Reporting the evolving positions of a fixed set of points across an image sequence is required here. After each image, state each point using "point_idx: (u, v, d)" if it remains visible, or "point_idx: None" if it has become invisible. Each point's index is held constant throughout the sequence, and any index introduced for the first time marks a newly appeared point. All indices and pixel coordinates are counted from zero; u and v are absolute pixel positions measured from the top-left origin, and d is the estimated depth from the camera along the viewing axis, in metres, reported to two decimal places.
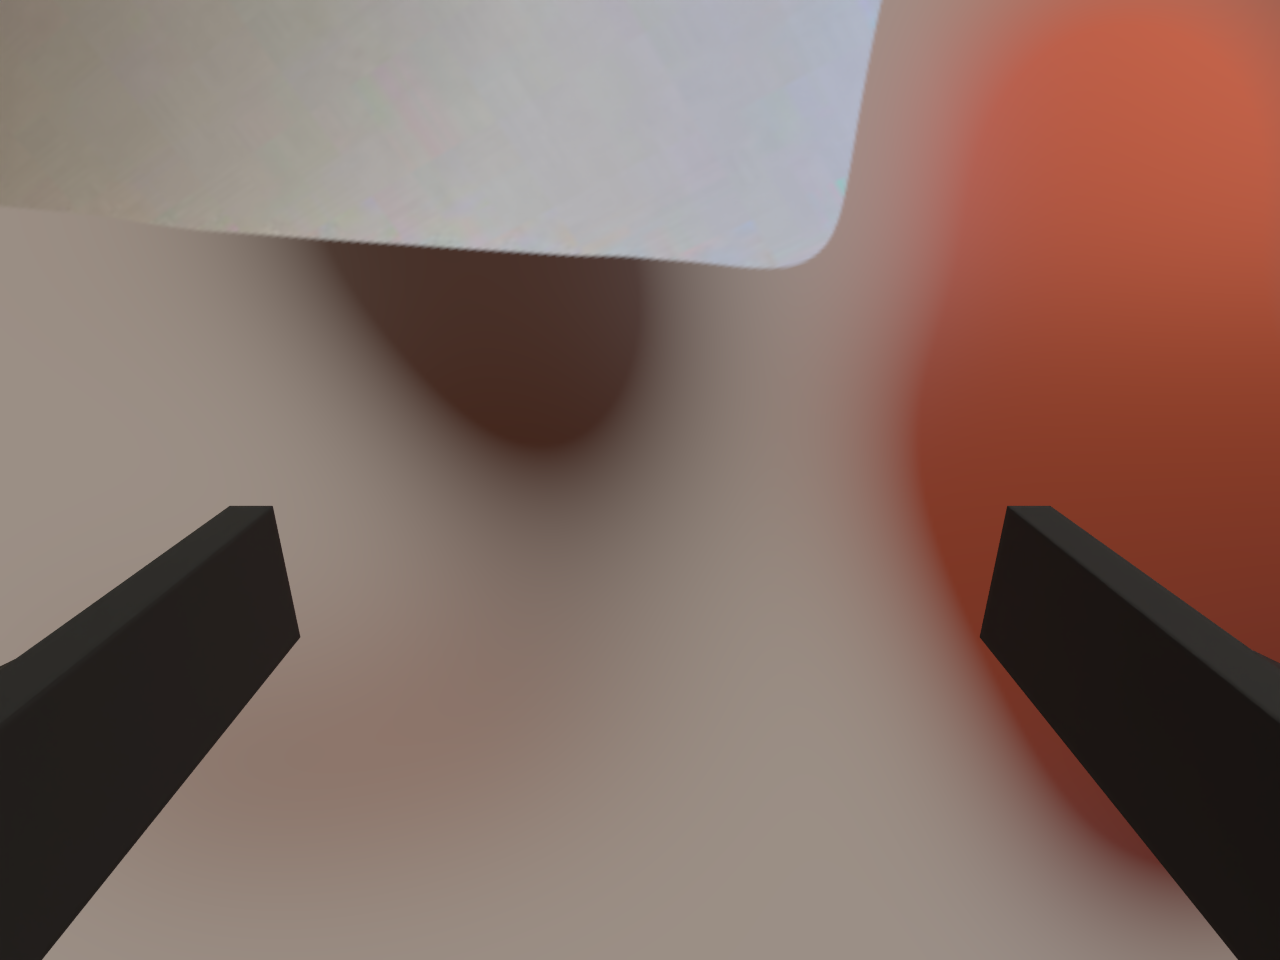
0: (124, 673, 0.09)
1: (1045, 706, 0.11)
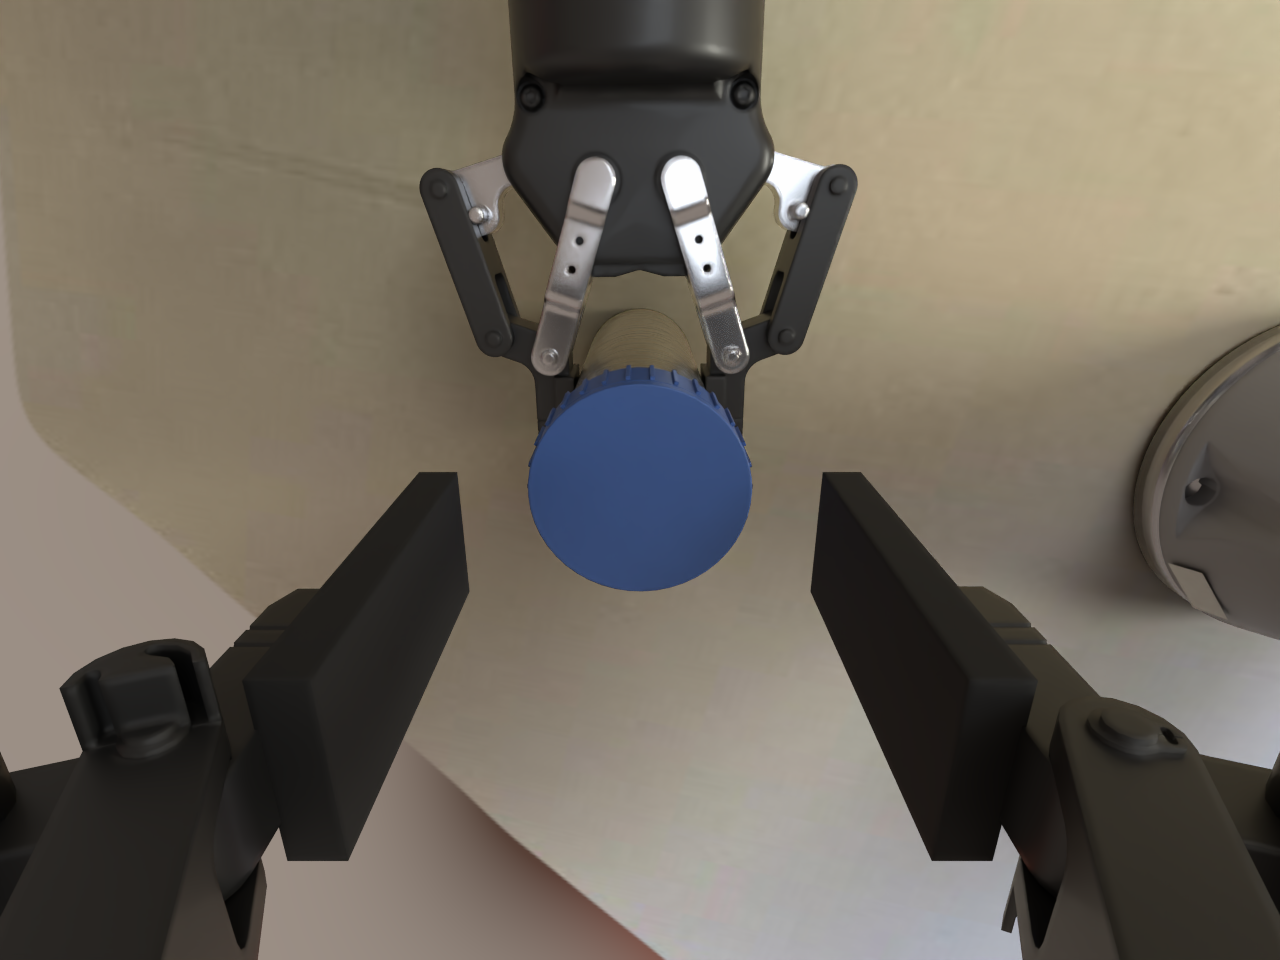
0: (394, 602, 0.10)
1: (839, 643, 0.12)
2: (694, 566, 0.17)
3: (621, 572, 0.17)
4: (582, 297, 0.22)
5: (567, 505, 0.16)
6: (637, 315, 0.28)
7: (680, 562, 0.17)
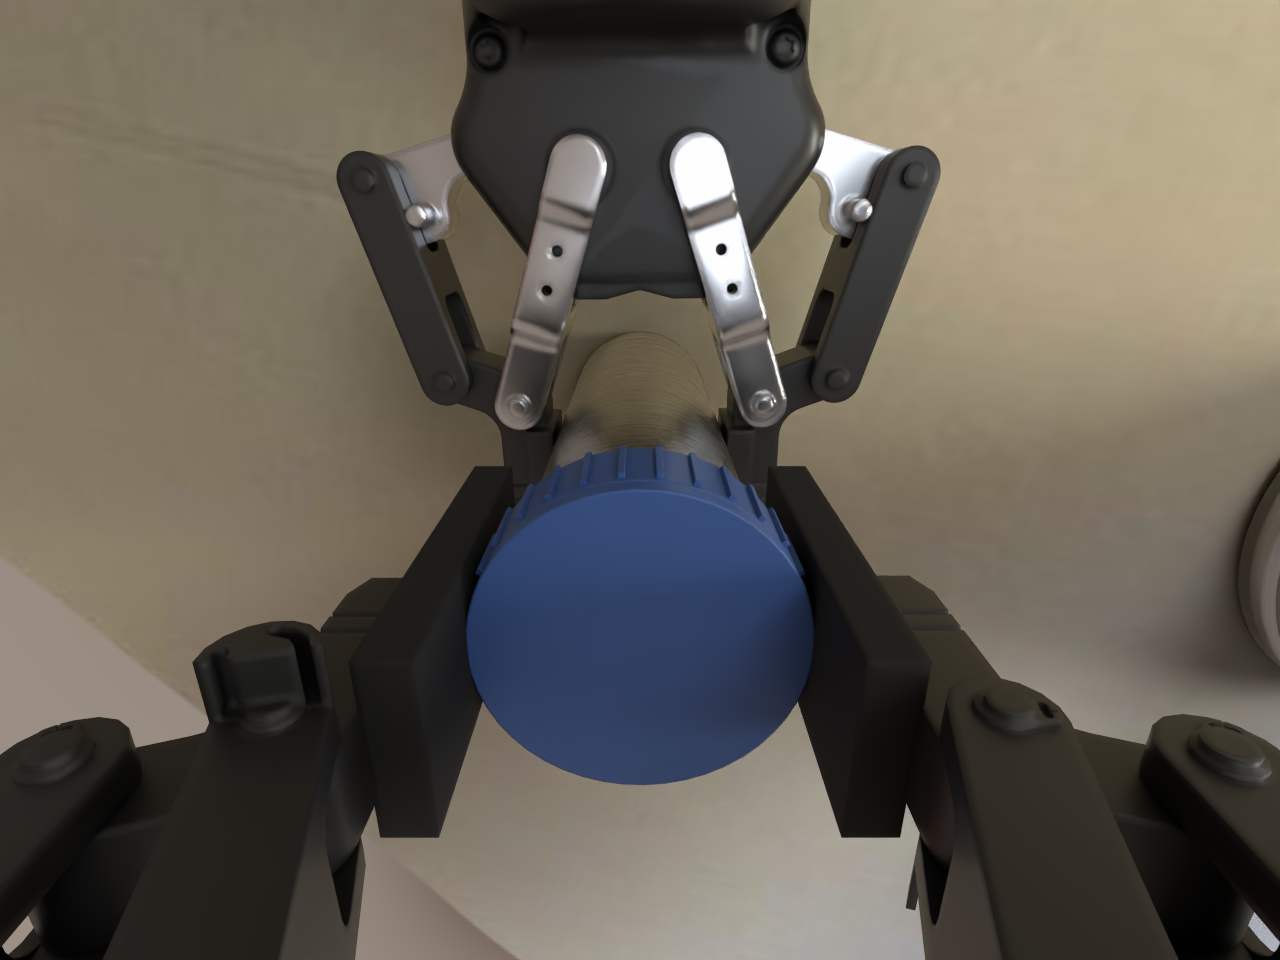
0: (470, 590, 0.10)
1: None
2: (723, 752, 0.11)
3: (612, 760, 0.11)
4: (562, 327, 0.16)
5: (527, 667, 0.10)
6: (637, 342, 0.22)
7: (702, 746, 0.11)
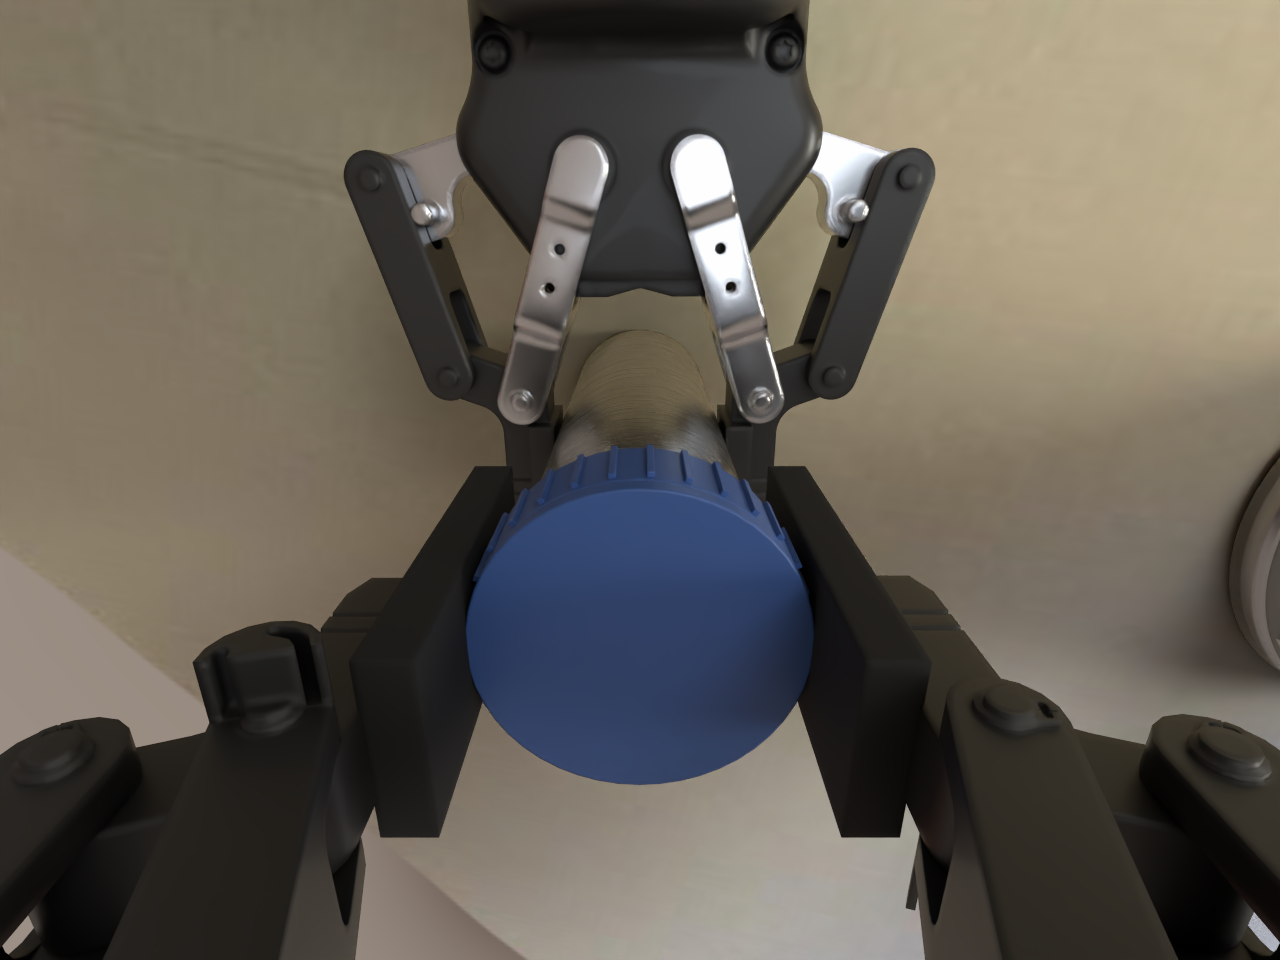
0: (470, 590, 0.10)
1: None
2: (733, 535, 0.10)
3: (781, 633, 0.10)
4: (564, 324, 0.16)
5: (695, 730, 0.11)
6: (637, 340, 0.22)
7: (733, 558, 0.10)
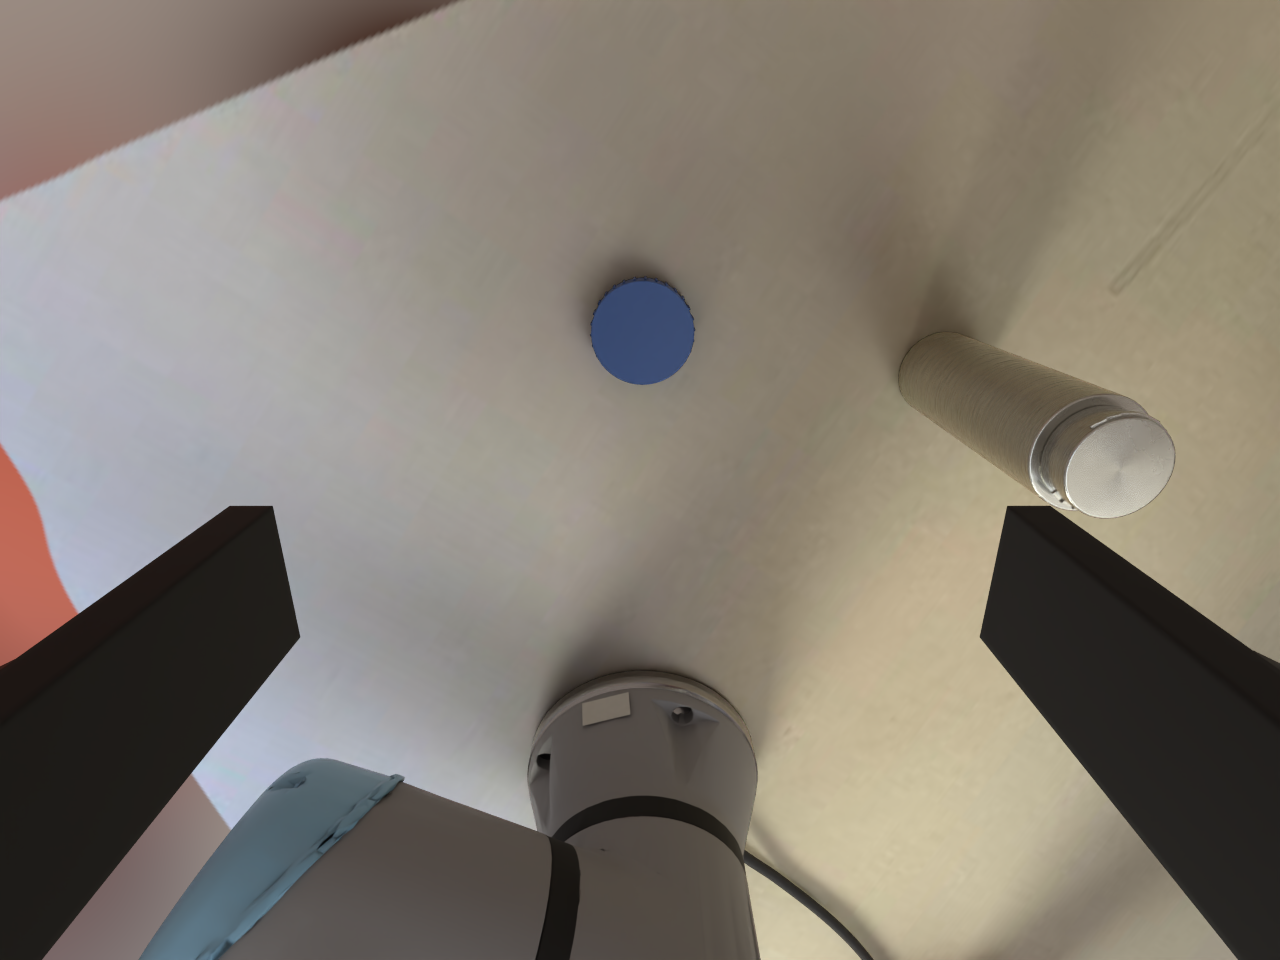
0: (124, 673, 0.09)
1: (1045, 705, 0.11)
2: (668, 295, 0.34)
3: (683, 327, 0.35)
4: None
5: (659, 363, 0.36)
6: None
7: (669, 302, 0.35)
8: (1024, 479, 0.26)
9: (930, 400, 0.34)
